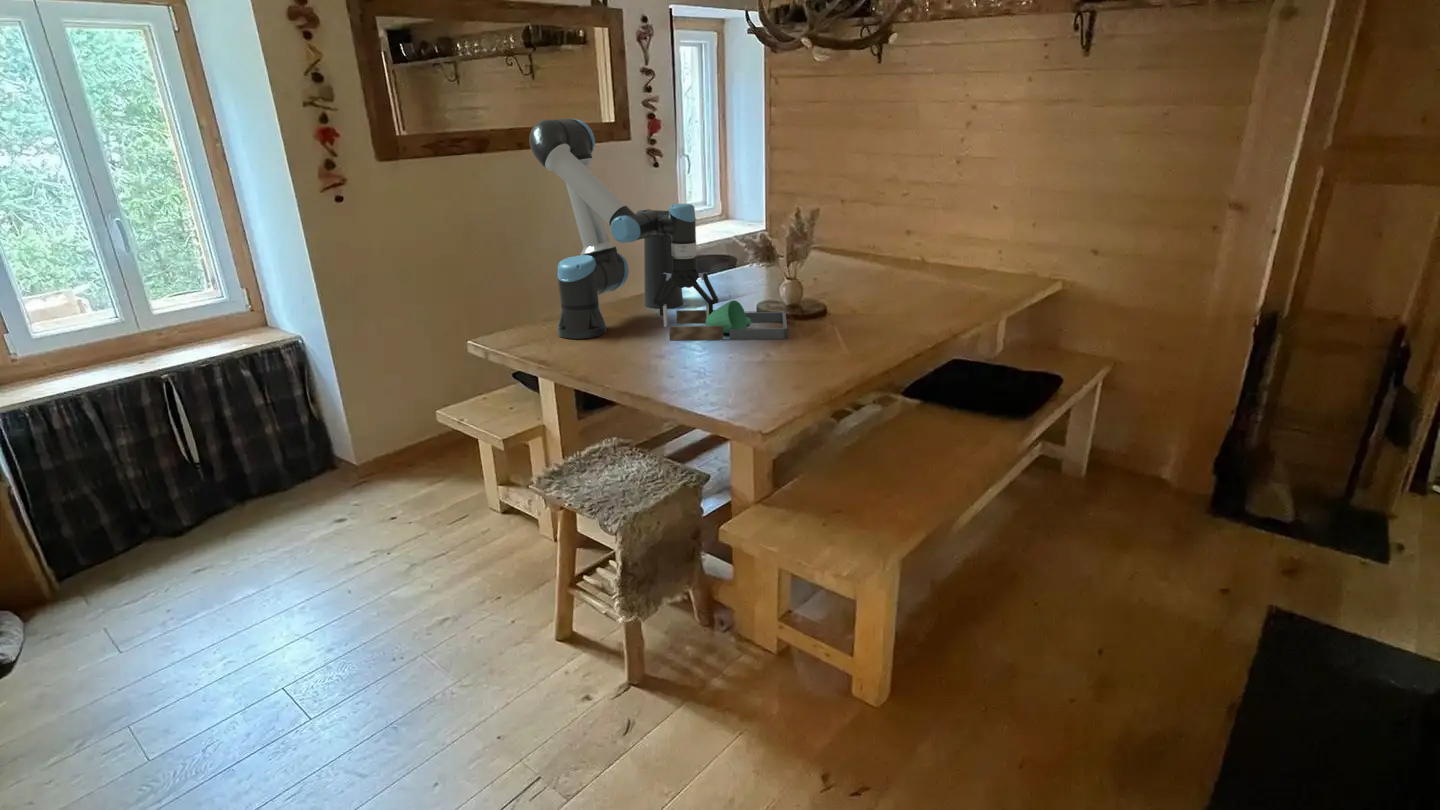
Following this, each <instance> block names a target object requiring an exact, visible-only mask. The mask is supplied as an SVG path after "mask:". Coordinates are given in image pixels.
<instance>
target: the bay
mask: <svg viewBox="0 0 1440 810" xmlns="http://www.w3.org/2000/svg"><path fill="white" fill-rule="evenodd" d="M715 310H716V309H713V311H715ZM675 313H676V324H706V318H707V316H706V309H699V310H697V309H692V310H676V311H675ZM668 334H669V341H713V340H715V341H719V340H720V341H724V333H723V326H707V325H685V326H684V325H683V326H682V325H679V326H677V325H676V326H675V325H674V326H669V327H668Z"/></svg>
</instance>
